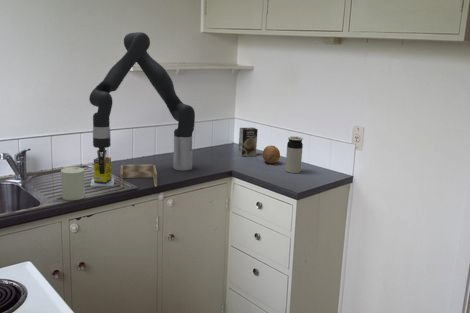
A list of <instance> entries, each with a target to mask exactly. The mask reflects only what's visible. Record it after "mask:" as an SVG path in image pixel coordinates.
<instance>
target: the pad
mask: <svg viewBox="0 0 470 313" xmlns="http://www.w3.org/2000/svg"><path fill="white" fill-rule="evenodd" d="M114 186H115V178H113V177H111V181H109V182H108V183H107V184H103V183H94V178H91V181H90V188H92V187H93V188H94V187H95V188H96V187H114Z"/></svg>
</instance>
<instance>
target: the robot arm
mask: <svg viewBox="0 0 470 313" xmlns="http://www.w3.org/2000/svg"><path fill="white" fill-rule="evenodd" d="M123 45H124V48H125V49H126V52H125V54H123V56H122V57H121V58H120V59H119V60H118V61H117V62H116V63H115V64H113V66H112V67H111V68H110V69H109V71H108V72H107V73H106V76H105V77H104V78H103V80H102V81H101V82H100V83H99V84H98V85H96V86H95V88H93V90H92V91H91V93H90V94H89V99H88V100H89V103H90V104H91V105H92V106H93V107H97V112H95V113H93V116H92V125H93V126H92V146H93V147H94V148H96V149H97V148H98V149H97V153H96V155H97V158H98V161H99V164H98V165H99V173H100V174H104V173H105V167H104V166H105V161H106V157H107V149H108V148H109V147H111V127H110V122H111V121H110V115H111V112H112V108H113V97H112V95H111V93H112V92H115V91H117V90H118V89H119V87H120V85H121V84H122V83H123V81H124V79H125V78H126V77H127V75H128V73H129V72H130V70H132V68H133V67H134V65H136V63H137V65H138V66H139V67H140V69H141V71H142V72H143V74H144V75H145V76H146V78H147V79H148V81H149V82H150V84H151V85H152V87H153V88H154V90H155V91H156V92H157V94H158V96H159V97H160V98H161V100H163V102H164V103H165V105H166V107H167V109H168V111H169V113H170V115H171V117H172V118H173V119H174V120H175V121H177V123H178V124H177V128H175V130H174V131H173V164H172V166H173V169H174V170H175V171H182V172H183V171H184V172H186V171H190V170H193V154H194V153H193V132H194V130H195V122H196V120H195V119H196V114H195V112H196V111H195V109H194V107H193V106H191V105H189V104H185V103H183V102H182V100H181V99H180V98H179V97H178V95H177V93H176V91H175V86H174V82H173V79H172V78H171V76H170V74H168V72H167V71H166V69H165V68H164V67H163V66H162V65H161V64H160V63H158V61H156V60H155V59H154V58H153V57H152V56H151V55H150V54H149V52H148V49H149V48H150V45H151V38H150V37H149V36H148V34H147V33H144V32H142V31H140V32H139V31H137V32H130V33H128V34H126V35H125V36H124V38H123ZM106 148H107V149H106ZM100 161H103V163H100Z"/></svg>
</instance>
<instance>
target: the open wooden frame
mask: <svg viewBox="0 0 470 313" xmlns="http://www.w3.org/2000/svg"><path fill="white" fill-rule="evenodd" d="M127 178H128V179H129V178H132V179H133V178H136V179H137V178H152V179H153V184H154V187H158V173H157V168H156V165H155V164H120V188H124V179H127Z"/></svg>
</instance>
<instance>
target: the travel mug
mask: <svg viewBox="0 0 470 313" xmlns="http://www.w3.org/2000/svg"><path fill="white" fill-rule="evenodd" d="M287 139H288V142H287V146H286V158H285V172H287V173H289V172H290V174H299V173H301V170H302V161H303V160H302V156H303V148H304V146H303V145H304V144H303V140H304V138H303V137H301V136H288V138H287Z"/></svg>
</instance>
